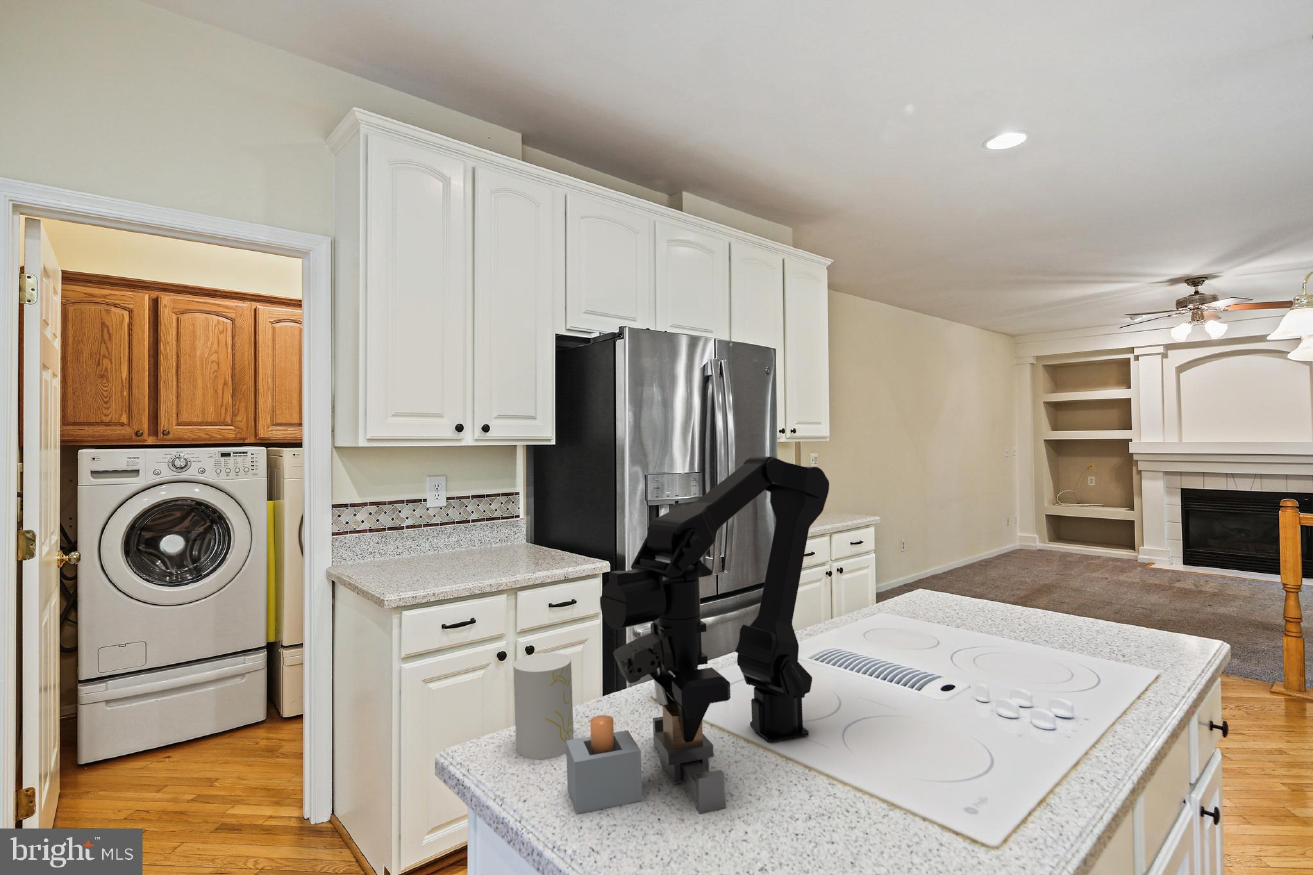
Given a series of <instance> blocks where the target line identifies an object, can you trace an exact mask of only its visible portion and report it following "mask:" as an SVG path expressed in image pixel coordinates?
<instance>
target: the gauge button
mask: <svg viewBox="0 0 1313 875" xmlns="http://www.w3.org/2000/svg"><path fill="white" fill-rule="evenodd" d="M589 722H590V724H589V725H590V736H591V752H592V753H594V754H601V753H607V752H612V751H614V732H615V731H614V730H615V729H614V717H612V716H610V715H605V714H604V715H601V714H600V715H596V716H593V717H592V718H591V719H590V721H589Z"/></svg>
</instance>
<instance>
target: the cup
mask: <svg viewBox="0 0 1313 875" xmlns="http://www.w3.org/2000/svg"><path fill="white" fill-rule="evenodd" d="M572 674H573V673H572V658H571V657H570V656H569V655H567V654H563V653H558V652H541V653H534V654H529V655H526V656H523V657H520V658H518V659H516V660H515V661H514V663H513V690H514V691H513V692H514V717H515V718H514V719H515V720H514V721H515V751H516V753H517V754H518V755H519V756H520V757H522V758H525V759H529V760H548V759H553V758H554V759H555V758H558V757H560V756H562V755H565V754H566V741H567V740H573V739H575V738H574V737H575V734H574V709H573V707H574V706H573V678H572V677H573V676H572Z"/></svg>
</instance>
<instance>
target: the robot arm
mask: <svg viewBox="0 0 1313 875" xmlns="http://www.w3.org/2000/svg"><path fill="white" fill-rule="evenodd" d="M764 491H766V492H768V493H769V494H770V496H769V497H770V498H769V503H770V506H771V510H772V513H773V516H774V518H775V526H774V531H773V536H772V542H771V547H770V552H769V558H768V562H767V567H766V568H767V569H766V574H765V576H764V577H765V578H764V584H763V588H762V593H761V598H760V603H759V609H758V614H757V616H756V617H755V619H754V620H753V621H752V622H751V624H750V625H747V624H742V625H741V626H740V629H739V637H738V638H739V639H738V643H737V647H736V648H735V650H734V652H735V653H737V658H736V661H737V662H736V663H737V666H738V667H739V669H740V671H741V673H742V675H743V679H744V681H745V684H746V685H748V686H752V687H753V698H751V700H750V701H751V703H750V704H751V706H750V707H751V709H750V710H751V721H750V723H749V724H750V727H752V729H754V730H755V732H757V733H758V734H759V735H760V736H761V737H762V738H764V739H765V740H766V741H767V742H769V743H774V742H780V741H784V740H789V739H797V738H800V737H801V738H802V737H807V736H809V733H810V732H809V730H808V729H807V728H806V727H804V722H803V719H804V718H803V698H805V697H806V696H805V695H806V694H809V693H810V692H811V688H812V683H813V676H812V675H811V674H810V673H809V672H808V671H807V670H806V669H805V667H804V666H802V664H800V662H799V651H800V650H799V648H800V647H799V646H800V645H799V642H798V638H797V635H796V632H795V629H794V627H793V620H794V619H793V618H794V614H795V610H796V609H795V608H796V602H797V596H798V593H799V592H798V591H799V587H800V580H801V574H802V570H803V565H804V564H803V563H804V557H805V554H806V553H805V552H806V548H807V542H808V537H809V531H810V528H811V526H812V525H813V524H814V523H815V521H816V520H817V519H818V518H819V516H820V515H821V514H822V513H823V511H824V509H825V505H826V502H827V498H828V495H829V492H830V482H829V479H828V477H827V476H826V473H825V472H824V471H823V469H822V468H820V467H817V466H802V465H799V464H794V463H790V462H788V461H787V462H786V461H783V460H782V459H779V458H778V457H777V458H776V457H775V456H751V457H749V458H747V459H746V460H745V461H744V462H743V464H742V465H741V466H739V467H738V468H737V469H736V470H735V471H733V472H732V473H731V474H730V475H728V476H727V477H726V478H724V479H723V480H722V481H720V482H719V483H718V484H717V485H716V486H714V487H713V488H711V489H710V490H709V491H708V492H706V493H705V494H704V495H702V496H701V497H700V498H699V499H697V500H696V501H695V502H692V503H691V504H689V505H685V506H683V507H678V508H675V509H671V510H670V511H668V512H666V513H664V514H662V515H659V516H658V517H656V518H654V519H653V520H652V522H650V523H649V525H648V527H647V534H646V537H645V539H644V541H643V543H642V545H641V547H640V549H639V551H638V552H637V554H636V555H635V558H634V559H633V562H632V563H631V565H630V568H631V569H629V570H615V571H614V570H612V571H610V572H609V573H608V580H609V581H608V582H607V583H606V584H605V585H604V586H603V589H602V591H601V596H600V597H599V605H600V606H599V607H600V610H601V611H600V612H601V615H602V617H603V620H604V621H605V623H606V624H607V625H608V627H609V628H611V629H612V630H615V631H616V630H617V631H619V630H621V629H625V628H630V627H634V626H640V625H643V624H647V623H650V622H651V623H650V631H651V632H650V631H649V633H647V634H645V635H642V636H640V637H636V638H635V639H633V640H631V641H629V642H628V643H625V644H623V645H622V646H619V647H618V648H616V649H615V650H614V651H613V656H614V658H615V661H616V663H617V666H618V669H619V671H620V674H621V676H622V677H624V679H625V680H626V682H627V683H629V684H635V683H637V682H638V681H639V682H640V681H641V679H642V678H644V677H647V675H649V676H650V677H651V678H652V679H653V681H654V680H655V681H656V682H657V683H658V684H660V685H661V688H662V691H663V694H664V698H665V701H666V704H672V703H677V704H678V710H679V716H680V721H681V727H682V732H683V737H684V741H685V742H686V743H687V742H692V741H693V740H694V738H695V736H696V734H697V731H698V729H699V727H700V724H701V722H702V723H703V719H704V717H705V716H706V713H707V711H708V709H709V707H710V705H711V704H716V703H722V702H727V701H729V700H731V682H730V681H729V680H728V679H727V678H726V677H724V676H723V675H722V674H721V673H719V672H718V671H717V670H716V669H715V668H713V667H705V668H699V666H701V665H703V666H704V665H708V661H709V660H708V655H707V654H705V653H704V652H703V646H702V641H703V640H702V633H706V632H707V623H705V622H704V621H703V620H702V619H701V618H702V617H701V615H702V614H701V591H700V589H701V588H700V578H705V577H709V576H711V575H713V570H712V569H711V568H710V567H708V566H707V565H706V564H705V563H703V561H702V558H703V557H704V555H706V553H707V552H708V551H709V549H710V548H711V547H712V546H713V545H714V543H715V542H716V537H717V532H718V531H719V529H721V528H722V526H723V525H724V524H726V523H727V522H728V521H729V520H730V519H732V518H733V517H734V516H735V515H737V514H738V513H739V512H740V511H742V510H743V509H744V508H745V507H746V506H748V505H749V504H750V503H751V502H753V500H754V499H755V500H756V498H757V497H758V496H759V495H761V494H762V493H763V492H764ZM656 559H657V560H656ZM658 559H659V560H658ZM661 560H663V561H661ZM665 561H666V562H665ZM667 561H668V562H667Z"/></svg>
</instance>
